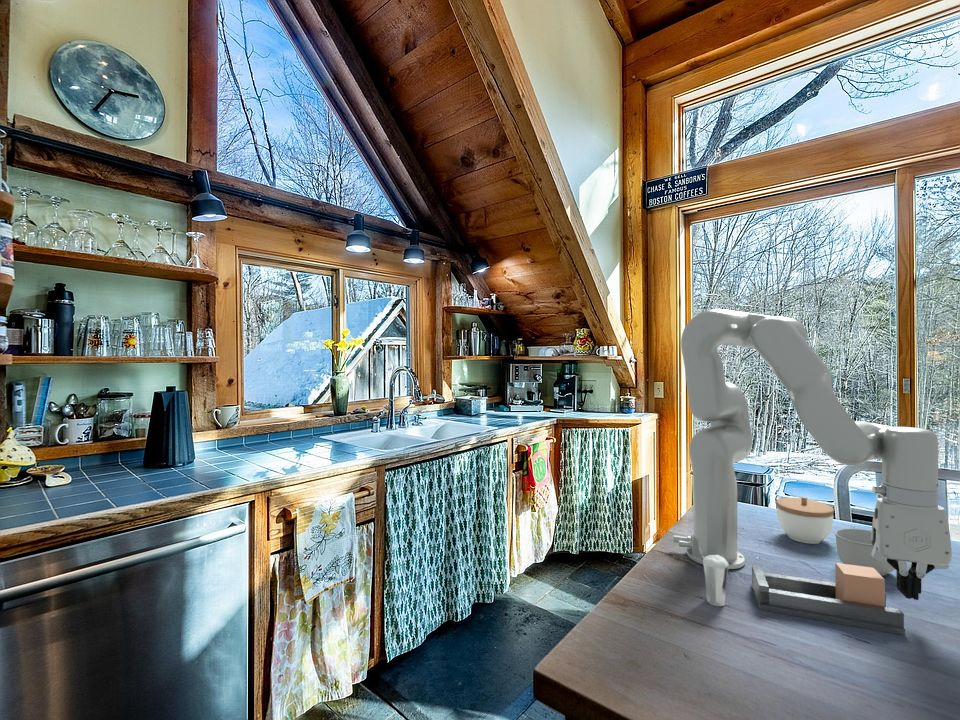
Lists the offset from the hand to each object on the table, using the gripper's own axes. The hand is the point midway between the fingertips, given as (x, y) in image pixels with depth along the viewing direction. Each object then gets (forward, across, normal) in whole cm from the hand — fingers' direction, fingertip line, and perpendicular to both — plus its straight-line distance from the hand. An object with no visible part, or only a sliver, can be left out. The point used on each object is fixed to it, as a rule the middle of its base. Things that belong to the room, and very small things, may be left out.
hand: (908, 595), depth 85 cm
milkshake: (+5, -32, -5) cm, 33 cm away
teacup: (+5, +2, +24) cm, 25 cm away
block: (+4, -7, 0) cm, 8 cm away
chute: (+5, -13, 0) cm, 14 cm away
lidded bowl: (+5, -7, +39) cm, 40 cm away
